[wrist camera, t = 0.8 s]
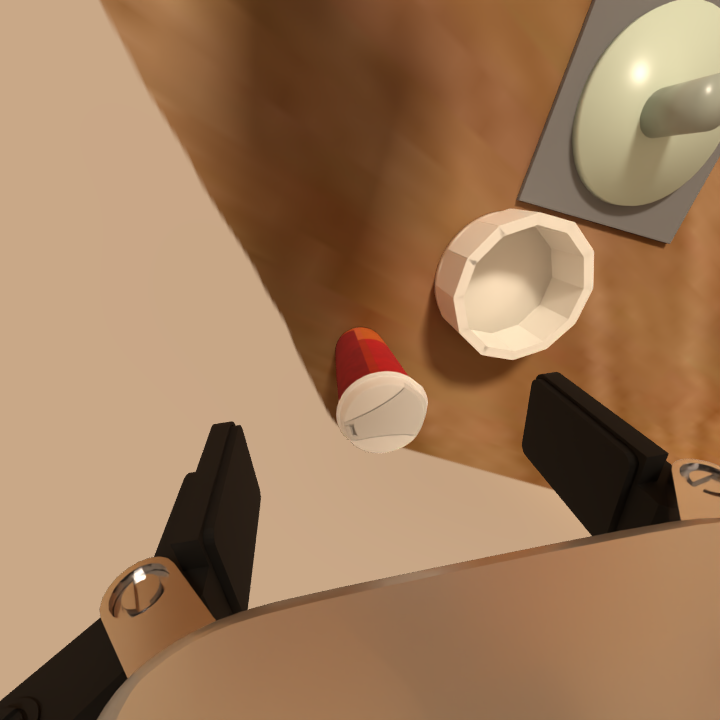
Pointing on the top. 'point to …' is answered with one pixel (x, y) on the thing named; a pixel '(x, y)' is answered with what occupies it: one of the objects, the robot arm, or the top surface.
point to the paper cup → (375, 394)
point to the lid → (651, 105)
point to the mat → (554, 150)
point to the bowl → (514, 281)
